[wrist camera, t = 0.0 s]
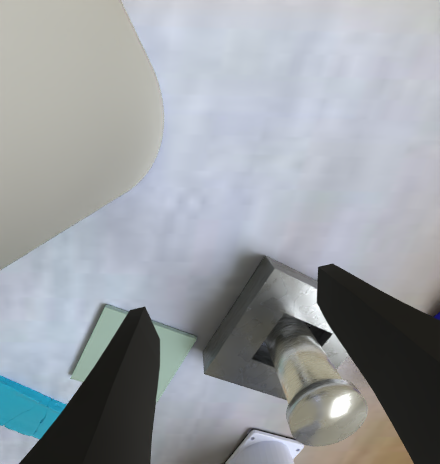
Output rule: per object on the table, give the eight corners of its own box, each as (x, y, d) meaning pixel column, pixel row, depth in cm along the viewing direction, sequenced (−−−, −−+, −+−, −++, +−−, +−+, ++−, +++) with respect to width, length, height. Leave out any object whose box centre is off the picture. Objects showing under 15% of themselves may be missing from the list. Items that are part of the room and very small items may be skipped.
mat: (158, 398, 25) (157, 401, 25) (72, 374, 23) (70, 378, 23) (196, 336, 23) (196, 339, 23) (106, 304, 21) (104, 306, 20)
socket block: (295, 383, 27) (305, 405, 24) (203, 351, 24) (204, 373, 21) (361, 302, 24) (379, 319, 22) (265, 255, 21) (274, 268, 19)
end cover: (288, 354, 25) (335, 452, 17) (246, 338, 24) (275, 437, 16) (317, 316, 24) (383, 402, 16) (275, 297, 23) (322, 381, 14)
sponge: (68, 457, 26) (98, 435, 24) (-46, 413, 22) (-19, 383, 21) (76, 441, 27) (104, 418, 26) (-31, 397, 24) (-5, 367, 22)
